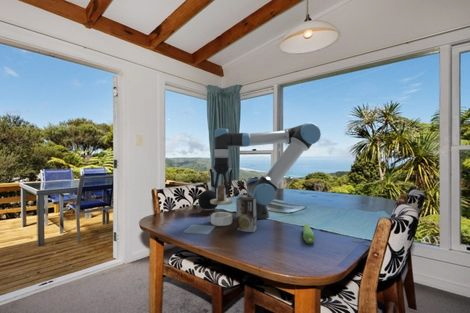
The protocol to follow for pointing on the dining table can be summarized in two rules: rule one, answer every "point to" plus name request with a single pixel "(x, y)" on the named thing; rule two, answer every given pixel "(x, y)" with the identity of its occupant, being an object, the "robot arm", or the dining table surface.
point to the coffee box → (246, 214)
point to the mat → (199, 229)
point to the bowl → (221, 218)
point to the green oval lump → (308, 234)
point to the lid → (221, 197)
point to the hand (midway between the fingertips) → (221, 199)
